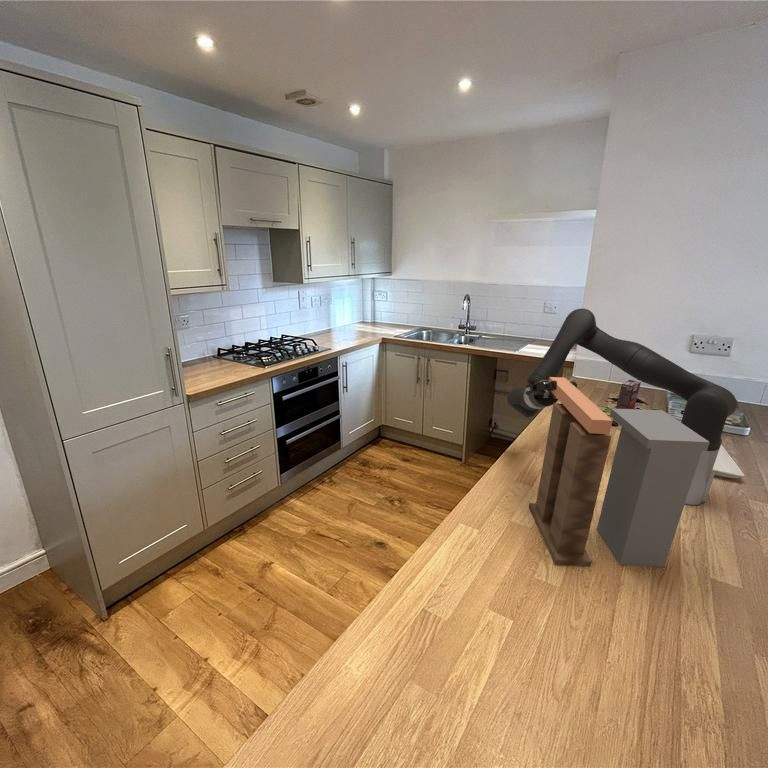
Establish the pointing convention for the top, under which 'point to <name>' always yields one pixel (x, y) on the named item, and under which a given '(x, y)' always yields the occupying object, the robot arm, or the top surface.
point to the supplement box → (628, 395)
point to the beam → (581, 407)
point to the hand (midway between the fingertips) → (564, 384)
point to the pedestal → (648, 485)
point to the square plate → (726, 465)
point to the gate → (569, 487)
